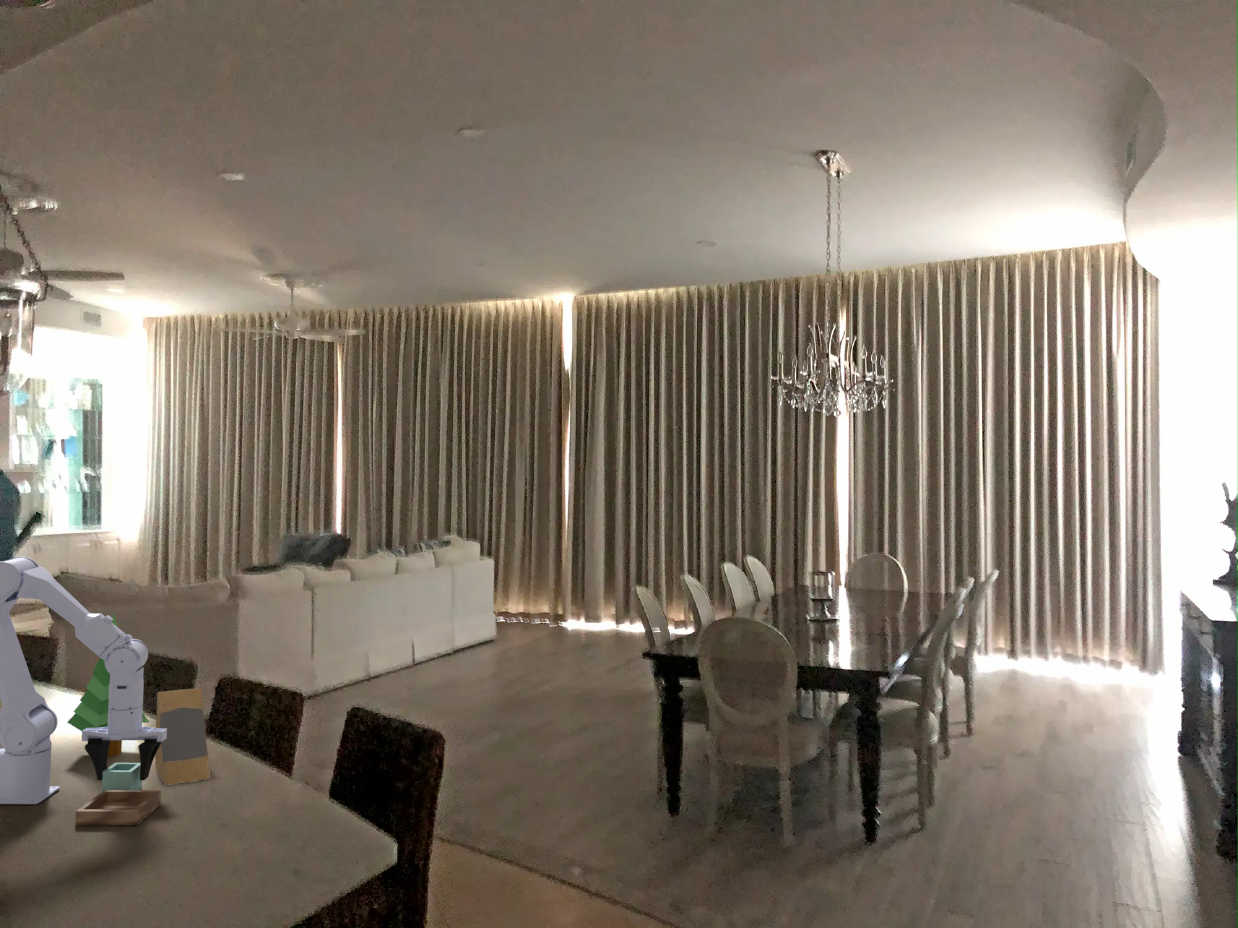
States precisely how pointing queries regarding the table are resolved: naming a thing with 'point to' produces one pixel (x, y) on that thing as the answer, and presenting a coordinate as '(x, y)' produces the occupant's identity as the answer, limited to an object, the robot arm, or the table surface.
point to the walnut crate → (118, 807)
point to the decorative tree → (97, 705)
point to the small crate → (122, 777)
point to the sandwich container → (182, 737)
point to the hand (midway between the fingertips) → (123, 778)
